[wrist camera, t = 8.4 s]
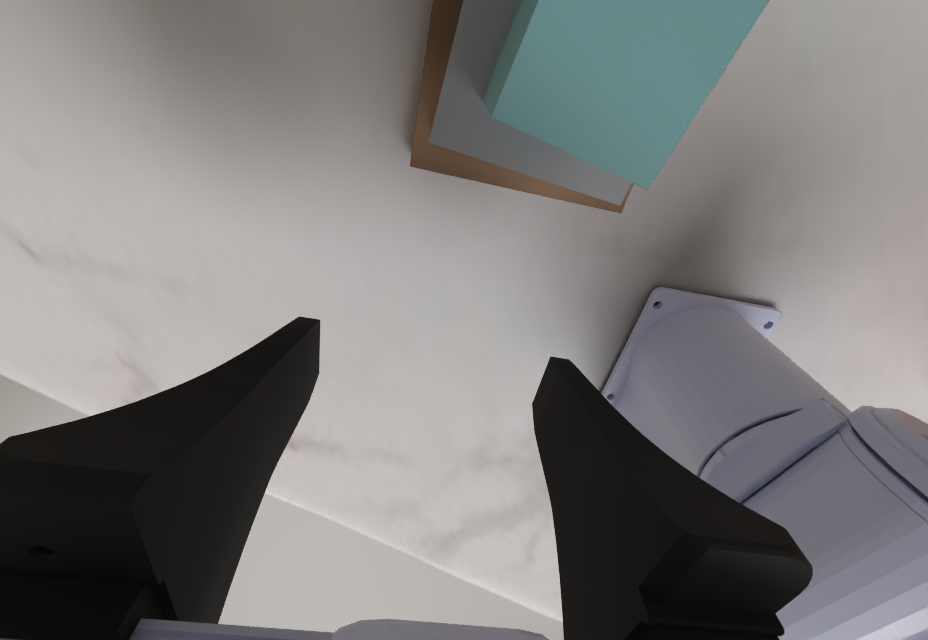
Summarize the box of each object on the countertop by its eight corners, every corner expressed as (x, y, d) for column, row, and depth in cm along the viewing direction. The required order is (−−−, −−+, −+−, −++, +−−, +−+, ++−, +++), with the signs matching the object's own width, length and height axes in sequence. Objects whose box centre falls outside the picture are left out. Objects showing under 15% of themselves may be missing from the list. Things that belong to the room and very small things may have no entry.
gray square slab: (601, 190, 19) (620, 205, 16) (432, 133, 17) (428, 142, 15) (705, -27, 15) (747, -44, 12) (495, -122, 13) (502, -160, 11)
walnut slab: (604, 199, 21) (621, 213, 19) (415, 156, 20) (410, 166, 18) (701, -49, 16) (739, -68, 14) (456, -127, 15) (455, -159, 13)
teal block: (591, 151, 15) (647, 189, 11) (482, 100, 14) (491, 116, 10) (666, 14, 13) (778, -14, 8) (542, -57, 12) (592, -133, 8)
